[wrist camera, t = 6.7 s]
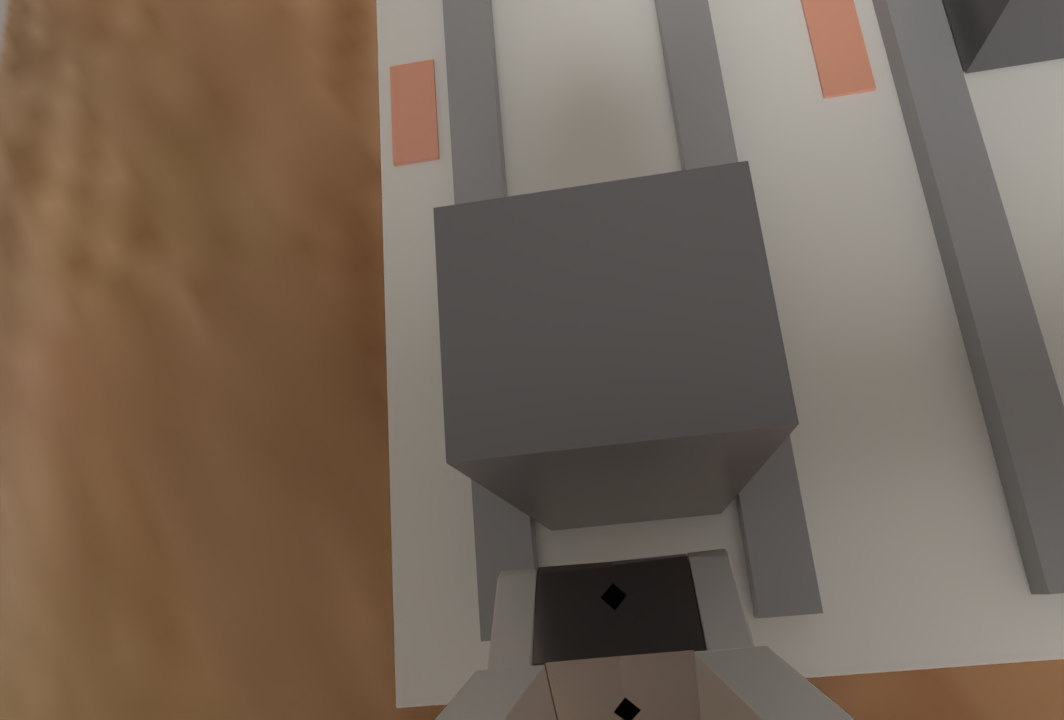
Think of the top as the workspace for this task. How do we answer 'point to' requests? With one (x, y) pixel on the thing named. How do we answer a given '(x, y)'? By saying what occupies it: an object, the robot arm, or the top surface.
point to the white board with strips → (801, 300)
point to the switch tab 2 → (1006, 32)
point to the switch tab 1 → (612, 347)
